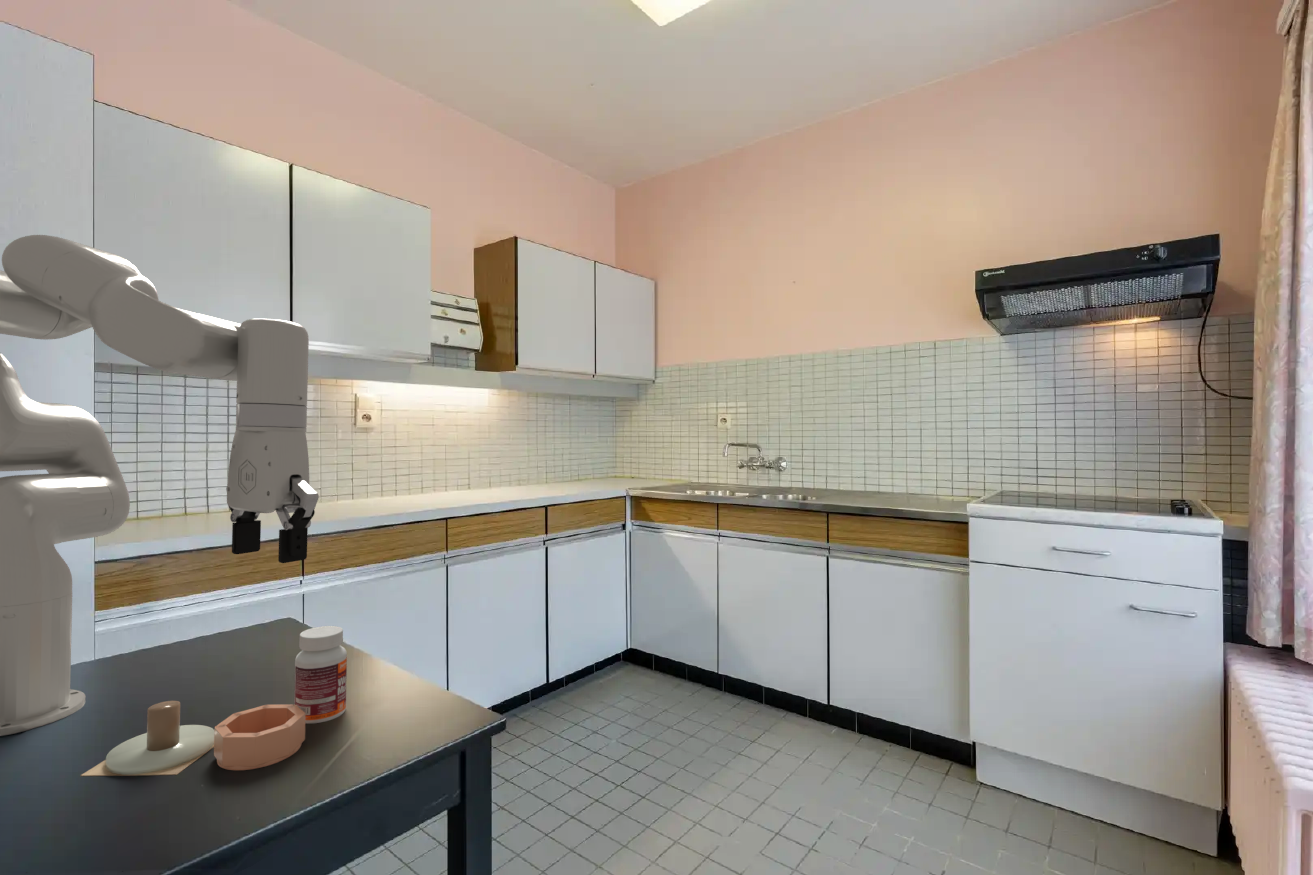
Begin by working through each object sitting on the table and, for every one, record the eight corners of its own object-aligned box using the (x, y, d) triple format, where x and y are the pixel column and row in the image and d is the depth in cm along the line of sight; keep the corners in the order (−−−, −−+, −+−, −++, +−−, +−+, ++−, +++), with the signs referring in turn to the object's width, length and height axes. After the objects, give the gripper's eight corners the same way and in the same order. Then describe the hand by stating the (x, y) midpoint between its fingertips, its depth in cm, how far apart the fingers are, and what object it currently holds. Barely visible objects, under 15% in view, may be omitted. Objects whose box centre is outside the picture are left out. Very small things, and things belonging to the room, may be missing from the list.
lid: (80, 775, 67) (81, 726, 67) (150, 731, 77) (151, 688, 77) (176, 774, 67) (178, 725, 67) (234, 730, 77) (235, 688, 77)
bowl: (198, 773, 68) (199, 737, 68) (245, 736, 77) (245, 704, 77) (277, 772, 69) (278, 736, 69) (314, 736, 77) (315, 704, 77)
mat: (80, 778, 67) (80, 775, 67) (150, 734, 77) (150, 731, 77) (176, 777, 67) (177, 774, 67) (234, 733, 77) (234, 730, 77)
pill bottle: (348, 719, 82) (350, 634, 82) (295, 730, 78) (296, 641, 78) (342, 702, 87) (344, 622, 87) (292, 712, 84) (294, 628, 84)
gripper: (200, 418, 78) (197, 554, 78) (284, 419, 70) (280, 570, 70) (262, 420, 84) (259, 545, 84) (344, 421, 76) (341, 559, 76)
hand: (268, 556), depth 77 cm, fingers open, 9 cm apart
